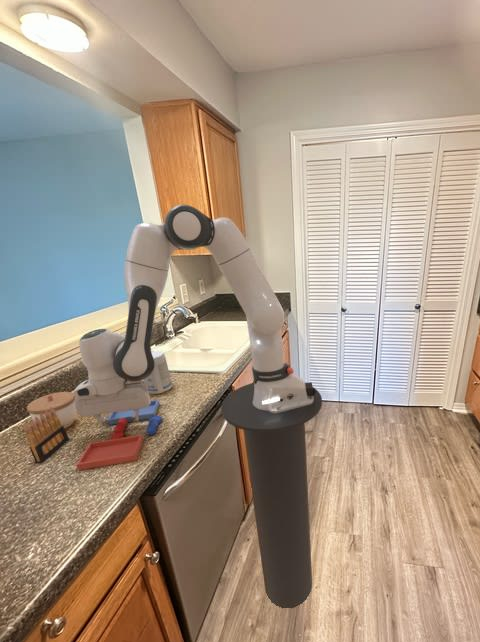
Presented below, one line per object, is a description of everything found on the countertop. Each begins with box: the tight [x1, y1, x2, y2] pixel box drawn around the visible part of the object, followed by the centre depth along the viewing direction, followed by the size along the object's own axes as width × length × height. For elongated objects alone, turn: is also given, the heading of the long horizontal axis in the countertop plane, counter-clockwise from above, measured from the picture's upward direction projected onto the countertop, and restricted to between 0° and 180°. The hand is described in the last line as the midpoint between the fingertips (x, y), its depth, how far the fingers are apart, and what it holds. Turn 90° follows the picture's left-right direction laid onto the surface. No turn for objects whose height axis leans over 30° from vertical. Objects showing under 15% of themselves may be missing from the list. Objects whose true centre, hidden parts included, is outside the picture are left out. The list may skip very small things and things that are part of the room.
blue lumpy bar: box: [145, 415, 163, 436], centre depth 102 cm, size 4×10×3 cm, turn 13°
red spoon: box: [109, 418, 128, 440], centre depth 100 cm, size 4×10×3 cm, turn 13°
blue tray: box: [107, 399, 161, 426], centre depth 110 cm, size 14×10×2 cm
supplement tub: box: [142, 350, 173, 395], centre depth 125 cm, size 10×10×15 cm
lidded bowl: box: [26, 391, 78, 429], centre depth 104 cm, size 13×13×11 cm
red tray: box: [75, 434, 144, 471], centre depth 90 cm, size 14×10×2 cm
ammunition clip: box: [23, 407, 70, 463], centre depth 91 cm, size 11×2×12 cm, turn 177°
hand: (120, 422), depth 102 cm, fingers open, 8 cm apart
